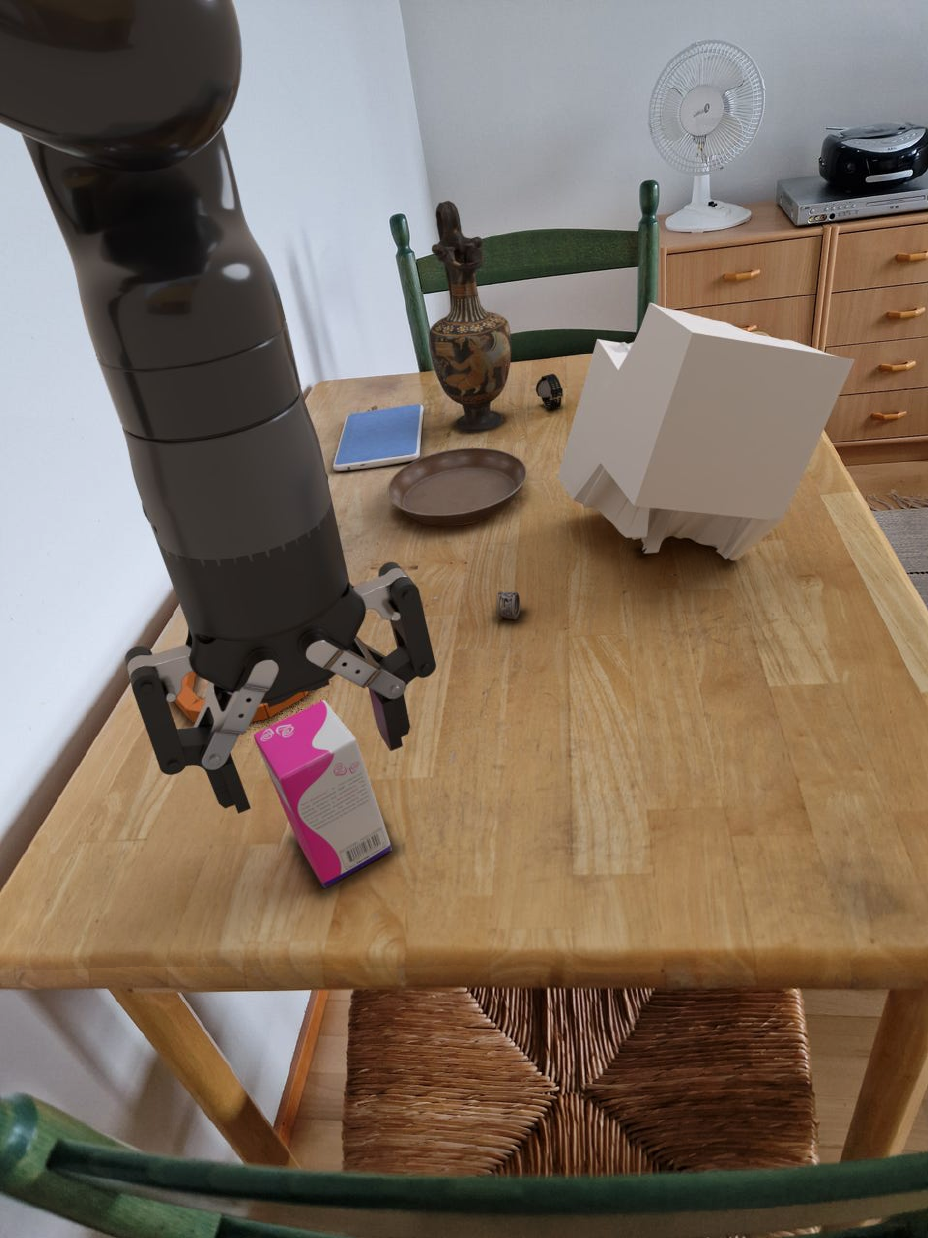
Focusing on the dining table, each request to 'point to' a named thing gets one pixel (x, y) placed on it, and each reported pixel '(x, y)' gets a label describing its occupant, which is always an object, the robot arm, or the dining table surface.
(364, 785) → the supplement box
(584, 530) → the dining table surface
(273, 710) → the ring
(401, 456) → the tablet
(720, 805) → the dining table surface
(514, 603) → the decorative ring
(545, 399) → the smartwatch
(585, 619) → the dining table surface
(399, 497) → the plant saucer
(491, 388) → the vase
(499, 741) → the dining table surface
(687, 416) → the notched white block
